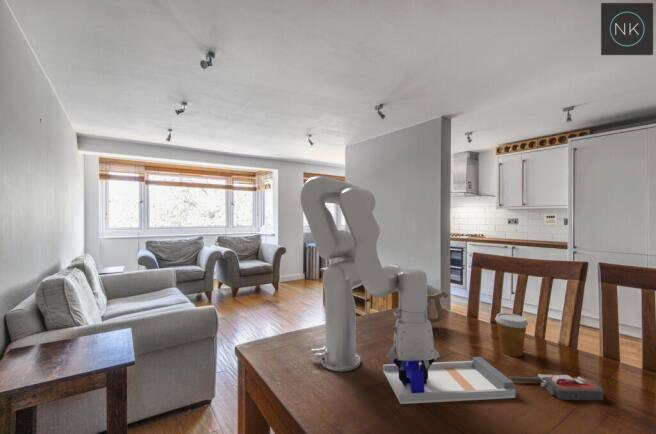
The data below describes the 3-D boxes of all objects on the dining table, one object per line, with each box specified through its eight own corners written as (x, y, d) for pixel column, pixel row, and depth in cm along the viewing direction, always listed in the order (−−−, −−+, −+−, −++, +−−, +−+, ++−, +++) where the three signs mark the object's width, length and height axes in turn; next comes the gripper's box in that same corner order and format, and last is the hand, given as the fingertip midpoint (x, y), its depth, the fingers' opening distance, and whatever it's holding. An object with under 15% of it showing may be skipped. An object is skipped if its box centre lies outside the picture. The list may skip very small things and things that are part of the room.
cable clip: (402, 371, 87) (402, 351, 87) (418, 373, 86) (417, 352, 86) (405, 395, 75) (405, 372, 75) (424, 397, 74) (424, 373, 74)
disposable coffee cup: (525, 349, 103) (525, 314, 103) (530, 361, 94) (530, 323, 94) (494, 344, 107) (493, 311, 107) (496, 355, 98) (496, 319, 98)
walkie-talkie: (582, 383, 82) (508, 381, 83) (582, 367, 82) (508, 365, 83) (611, 402, 74) (528, 400, 74) (610, 385, 74) (528, 383, 74)
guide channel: (400, 403, 72) (400, 389, 72) (383, 371, 88) (383, 359, 88) (515, 397, 75) (515, 383, 75) (478, 367, 90) (478, 355, 90)
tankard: (403, 332, 118) (403, 295, 118) (397, 321, 130) (397, 287, 131) (454, 333, 117) (454, 295, 117) (443, 322, 130) (443, 288, 130)
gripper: (386, 321, 76) (386, 391, 76) (449, 318, 78) (450, 388, 77) (378, 312, 84) (379, 376, 84) (436, 310, 85) (437, 373, 85)
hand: (413, 381), depth 81 cm, fingers closed on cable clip, 5 cm apart
